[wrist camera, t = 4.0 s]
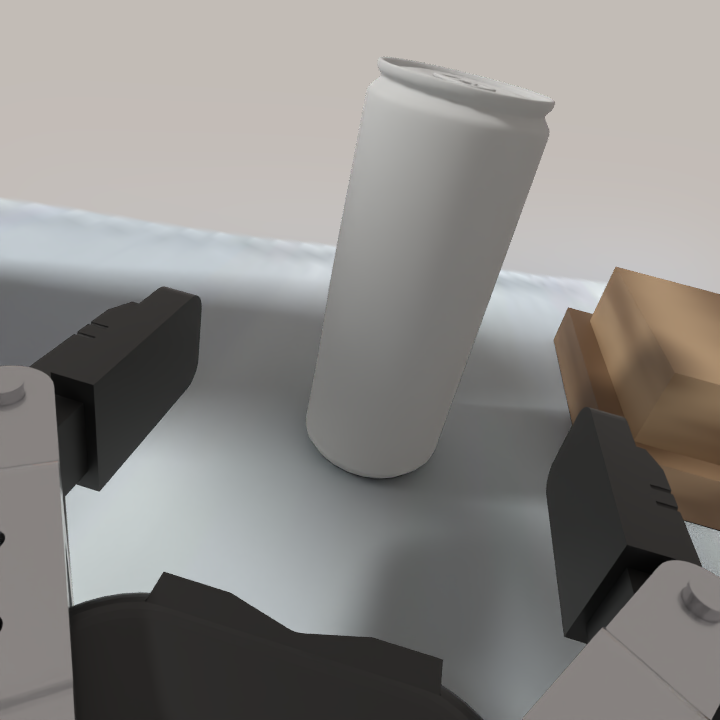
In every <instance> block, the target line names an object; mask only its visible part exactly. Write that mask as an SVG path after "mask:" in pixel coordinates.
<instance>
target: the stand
mask: <svg viewBox="0 0 720 720" xmlns="http://www.w3.org/2000/svg"><path fill="white" fill-rule="evenodd" d="M554 344H555V348H556V353H557V357H558V362H559V366H560V371H561V375H562V380H563V384H564V389H565V393H566V398H567V403H568V407H569V412H570V416H571V421H572V425H573V423H574V421H575V419H576V417H577V416H578V414H579V412H580V411H581V410H582V409H583V408H584V407H590V408H593V409H597V410H600V411H604V412H607V413H611V414H615V415H618V416H622V417H624V418H625V419H626V420H627V422H628V425H629V427H630V430H631V433H632V436H633V439H634V441H635V444H636V447H640V448H643V449H646V450H647V451H648V453H649V454H650V455H651V456H652V457H653V458H654V460H655V461H656V462H657V463H658V464H659V465H660V467H661V468H662V469H663V470H664V473H665V475H666V478H667V480H668V483H669V485H670V488H671V490H672V491H671V494H673V495H674V498H675V500H676V503H677V505H678V511H679V512H680V513H681V515H682V518H683V520H686V521H689V522H693V523H696V524H700V525H703V526H707V527H710V528H714V529H717V530H720V294H716V293H713V292H709V291H706V290H702V289H698V288H694V287H690V286H686V285H682V284H679V283H675V282H672V281H668V280H664V279H660V278H656V277H652V276H649V275H645V274H641V273H637V272H634V271H630V270H626V269H622V268H619V267H615V269H614V272H613V274H612V276H611V278H610V280H609V282H608V284H607V286H606V288H605V290H604V292H603V294H602V297H601V299H600V301H599V303H598V305H597V307H596V309H595V311H594V313H593V314H590V313H587V312H583V311H579V310H576V309H572V308H568V309H567V311H566V313H565V316H564V318H563V320H562V322H561V325H560V327H559V329H558V331H557V333H556V336H555V338H554Z"/></svg>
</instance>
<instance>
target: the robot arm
mask: <svg viewBox="0 0 720 720" xmlns="http://www.w3.org/2000/svg"><path fill="white" fill-rule="evenodd" d="M200 324H201V300H200V298H199V296H196V295H193V294H189V293H186V292H182V291H179V290H175V289H172V288H168V287H160V288H159V289H157V290H156V291H155V292H153V293H152V294H151V295H150V296H148V297H147V298H146V299H144V300H143V301H142V302H141V303H139V304H138V303H135V302H130V303H127V304H124V305H121V306H118V307H115V308H111V309H108V310H107V311H106V312H104V313H103V314H101V315H100V316H99V317H97V318H96V319H94V320H93V321H92V322H91V325H89V324H88V325H86V326H85V327H83V328H82V329H81V330H79V331H78V333H77V335H75V334H74V335H72V336H71V337H70V338H68V339H67V340H66V341H64V342H63V343H61V344H60V345H59V346H57V347H56V348H54V349H53V350H52V351H50V352H49V353H48V354H46V355H45V356H43V357H42V358H41V359H39V360H38V361H37V362H35V363H34V364H32V365H31V366H30V367H25V366H0V720H483V719H482V718H481V717H480V716H479V715H478V714H477V713H476V712H475V711H474V710H473V709H472V708H471V707H470V706H469V705H468V704H467V703H466V702H464V701H463V700H462V699H460V698H459V697H458V696H457V695H455V694H454V693H453V692H451V691H450V690H448V689H447V688H445V687H444V686H442V685H441V677H442V664H443V660H442V659H439V658H436V657H433V656H430V655H426V654H423V653H420V652H417V651H414V650H411V649H407V648H404V647H401V646H398V645H395V644H391V643H388V642H385V641H382V640H379V639H376V638H372V637H355V636H338V635H321V634H305V633H298V632H294V631H292V630H290V629H288V628H286V627H285V626H283V625H282V624H280V623H278V622H277V621H275V620H274V619H272V618H270V617H269V616H267V615H265V614H264V613H262V612H261V611H259V610H257V609H256V608H254V607H253V606H251V605H249V604H248V603H246V602H245V601H243V600H241V599H240V598H238V597H237V596H235V595H233V594H232V593H230V592H226V591H223V590H220V589H217V588H214V587H211V586H207V585H204V584H201V583H198V582H195V581H192V580H188V579H185V578H182V577H179V576H176V575H173V574H169V573H166V572H163V573H162V575H161V577H160V578H159V580H158V582H157V583H156V585H155V587H154V588H153V590H152V592H151V593H123V594H117V595H111V596H104V597H101V598H97V599H93V600H89V601H85V602H83V603H80V604H77V605H75V606H74V601H73V589H72V576H71V563H70V550H69V537H68V524H67V511H66V500H65V496H66V495H67V494H68V493H69V491H70V490H71V489H72V488H73V487H74V486H75V485H76V484H77V485H80V486H83V487H86V488H90V489H93V490H96V491H99V492H100V490H101V489H102V488H103V487H104V486H105V485H106V483H107V482H108V481H109V480H110V479H111V477H112V476H113V475H114V474H115V473H116V472H117V470H118V469H119V468H120V467H121V466H122V465H123V463H124V462H125V461H126V460H127V459H128V457H129V456H130V455H131V454H132V453H133V452H134V450H135V449H136V448H137V447H138V446H139V445H140V443H141V442H142V441H143V440H144V439H145V437H146V436H147V435H148V434H149V433H150V432H151V430H152V429H153V428H154V427H155V426H156V425H157V423H158V422H159V421H160V420H161V419H162V417H163V416H164V415H165V414H166V413H167V412H168V410H169V409H170V408H171V407H172V406H173V405H174V403H175V402H176V401H177V400H178V399H179V397H180V396H181V395H182V394H183V393H184V392H185V390H186V389H187V388H188V387H189V385H190V384H191V382H192V380H193V377H194V375H195V372H196V369H197V364H198V356H199V340H200ZM671 491H672V490H671V488H670V485H669V483H668V480H667V478H666V475H665V473H664V470H663V469H662V468H661V467H660V465H659V464H658V463H657V462H656V461H655V460H654V458H653V457H652V456H651V455H650V454H649V453H648V451H647V450H646V449H643V448H640V447H636V444H635V441H634V439H633V436H632V433H631V430H630V427H629V425H628V422H627V420H626V419H625V418H624V417H622V416H618V415H615V414H611V413H607V412H604V411H600V410H597V409H593V408H590V407H584V408H583V409H582V410H581V411H580V412H579V414H578V416H577V417H576V419H575V421H574V423H573V425H572V427H571V429H570V431H569V433H568V435H567V437H566V439H565V440H564V442H563V444H562V446H561V448H560V450H559V452H558V454H557V456H556V458H555V460H554V462H553V464H552V466H551V469H550V472H549V475H548V480H547V487H546V495H547V503H548V511H549V519H550V527H551V535H552V543H553V551H554V559H555V567H556V575H557V583H558V591H559V599H560V608H561V616H562V624H563V632H564V637H567V638H570V639H573V640H576V641H580V642H583V643H586V644H587V645H586V646H585V648H584V649H583V650H582V651H581V652H580V653H579V654H578V656H577V657H576V658H575V659H574V660H573V661H572V662H571V664H570V665H569V666H568V667H567V668H566V669H565V670H564V672H563V673H562V674H561V675H560V676H559V677H558V678H557V680H556V681H555V682H554V683H553V684H552V685H551V686H550V688H549V689H548V690H547V691H546V692H545V693H544V694H543V696H542V697H541V698H540V699H539V700H538V701H537V702H536V704H535V705H534V706H533V707H532V708H531V709H530V710H529V712H528V713H527V714H526V715H525V716H524V717H523V718H522V720H720V578H719V577H718V576H716V575H715V574H713V573H712V572H710V571H708V570H706V569H704V568H702V565H701V563H700V560H699V558H698V555H697V553H696V550H695V548H694V545H693V543H692V540H691V538H690V535H689V533H688V530H687V528H686V525H685V523H684V520H683V518H682V515H681V513H680V512H679V511H678V505H677V503H676V500H675V498H674V495H673V494H671Z"/></svg>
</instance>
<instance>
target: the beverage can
mask: <svg viewBox="0 0 720 720" xmlns="http://www.w3.org/2000/svg"><path fill="white" fill-rule="evenodd" d="M378 68H379V70H380V72H381V76H380V77H379V78H378V79H376V80H375V81H374V82H372V83H371V84H370V85H369V87H368V89H367V93H366V97H365V102H364V107H363V112H362V118H361V123H360V128H359V133H358V138H357V143H356V149H355V154H354V159H353V164H352V169H351V174H350V180H349V185H348V190H347V195H346V201H345V205H344V211H343V216H342V221H341V226H340V231H339V237H338V242H337V247H336V253H335V258H334V264H333V269H332V274H331V280H330V286H329V292H328V298H327V304H326V309H325V315H324V321H323V327H322V333H321V339H320V345H319V351H318V356H317V362H316V367H315V373H314V378H313V383H312V388H311V394H310V399H309V404H308V409H307V415H306V427H307V432H308V436H309V437H310V439H311V440H312V442H313V443H314V445H315V446H316V448H317V449H318V450H319V452H320V453H321V454H322V455H323V456H324V457H325V458H327V459H328V460H329V461H330V462H331V463H332V464H334V465H336V466H338V467H340V468H341V469H343V470H345V471H347V472H350V473H353V474H356V475H359V476H363V477H371V478H392V477H396V476H399V475H403V474H406V473H409V472H411V471H414V470H416V469H417V468H419V467H420V466H422V465H423V464H425V463H426V462H427V461H428V460H429V459H430V457H431V456H432V454H433V453H434V451H435V448H436V446H437V443H438V440H439V437H440V435H441V432H442V429H443V426H444V424H445V421H446V418H447V415H448V413H449V410H450V407H451V404H452V402H453V399H454V396H455V393H456V391H457V388H458V385H459V382H460V380H461V377H462V374H463V371H464V369H465V366H466V363H467V360H468V358H469V355H470V352H471V349H472V347H473V344H474V341H475V338H476V336H477V333H478V330H479V327H480V325H481V322H482V319H483V316H484V314H485V311H486V308H487V305H488V303H489V300H490V297H491V294H492V292H493V289H494V286H495V283H496V281H497V278H498V275H499V272H500V270H501V267H502V264H503V261H504V259H505V256H506V253H507V250H508V248H509V245H510V242H511V239H512V237H513V234H514V231H515V228H516V226H517V223H518V220H519V217H520V215H521V212H522V209H523V206H524V204H525V201H526V198H527V195H528V193H529V190H530V187H531V184H532V182H533V179H534V176H535V173H536V171H537V168H538V165H539V162H540V160H541V156H542V154H543V151H544V149H545V146H546V143H547V140H548V137H549V128H548V126H547V123H546V121H545V116H546V115H547V114H548V113H549V112H550V111H552V109H553V107H554V105H555V101H554V100H553V99H551V98H549V97H547V96H545V95H542V94H539V93H537V92H534V91H531V90H528V89H524V88H521V87H518V86H515V85H511V84H507V83H504V82H501V81H497V80H493V79H490V78H486V77H482V76H478V75H474V74H470V73H466V72H462V71H458V70H454V69H450V68H445V67H441V66H436V65H431V64H426V63H422V62H417V61H412V60H405V59H399V58H392V57H380V58H379V59H378Z"/></svg>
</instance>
